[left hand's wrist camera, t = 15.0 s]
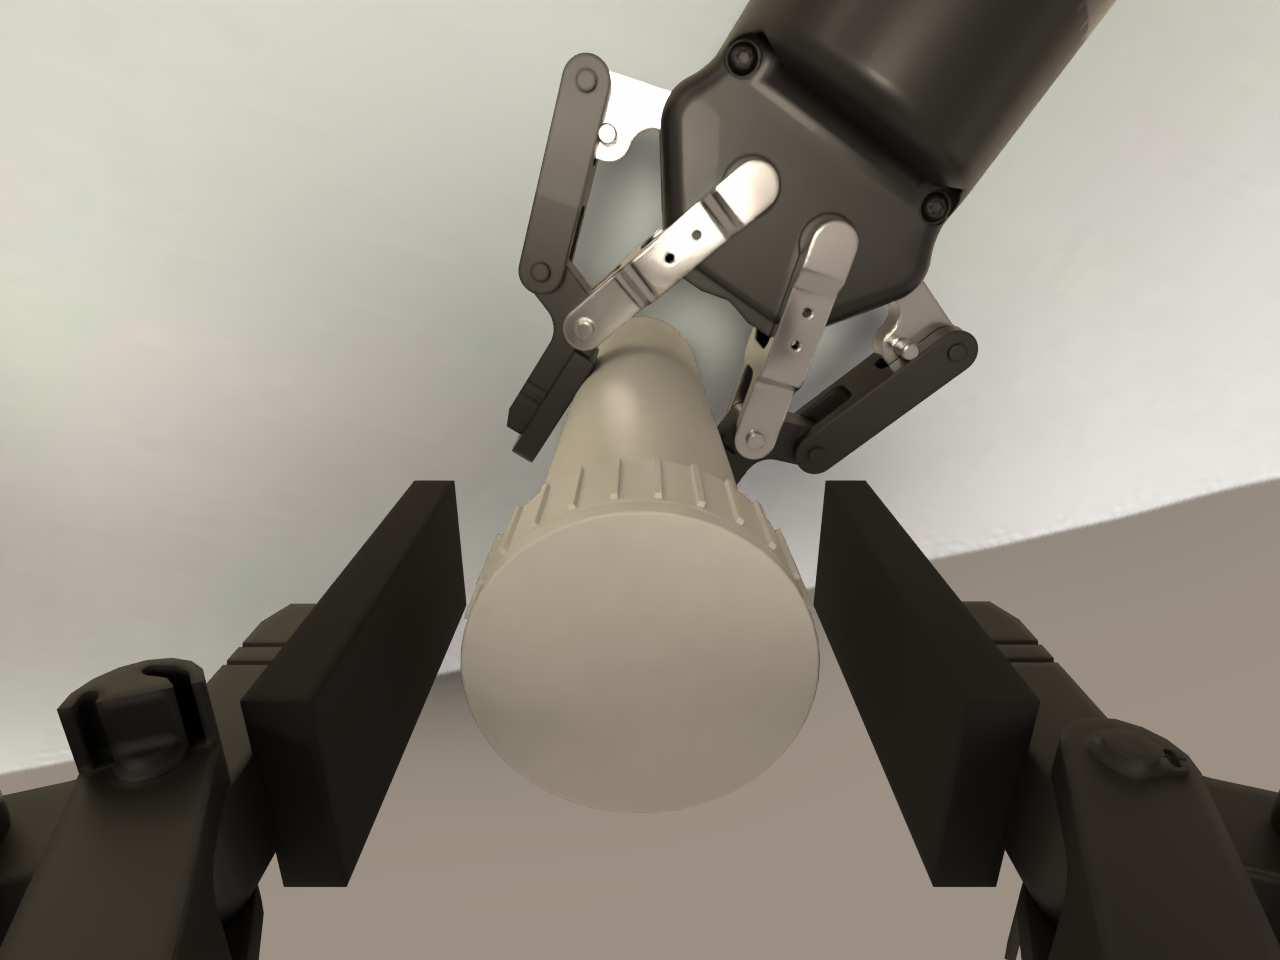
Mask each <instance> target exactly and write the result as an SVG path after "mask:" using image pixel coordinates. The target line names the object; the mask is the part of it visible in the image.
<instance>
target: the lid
mask: <svg viewBox="0 0 1280 960" xmlns="http://www.w3.org/2000/svg"><path fill="white" fill-rule="evenodd" d="M812 612H814V607H813V605H812V602H811V600H810V598H809V595H808V593H807V590H806V588H805V586H804V583H803V581H802V579H801V576H800V574H799V571H798V569H797V567H796V564H795V562H794V560H793V558H792V555H791V553H790V551H789V548H788V546H787V543H786V541H785V539H784V536H783V534H782V532H781V530H780V529H777V530H774V528H773V527H772V525H771V523H770V522H769V521H768V520H767V518H766V517H765V514H764V512H763V509H762V506H761V504H760V503H759V502H758V501H756V502H755V503H754V504H753V503H752V502H751V501H750V500H749V499H748V498H747V497H746V496H744V495H743V494H742V493H741V492H739V491H738V490H736V489H735V488H734V485H733V482H732V481H730V480H728V479H726V481H725V482H724V481H722V480H720V479H718V478H716V477H714V476H712V475H710V474H709V473H706V472H703V471H700V470H699V469H698V465H695V464H691V466H690V467H689V466H685V465H681V464H676V463H672V462H667V461H660V457H653V460H646V459H645V460H622V461H621V460H620V457H618V458H613V462H609V463H603V464H599V465H596V466H592V467H589V468H585V469H583V468H582V466H580V467H577V468H576V469H575V473H573V474H570V475H568V476H566V477H564V478H562V479H560V480H558V481H557V482H555V483H553V484H552V485H549V484H548V483H546V484H544V485H543V486H542V488H541V491H540V493H539V494H538V495H536V496H535V497H534V498H533V499H531V500H530V501H529V502H528V503H527V504H526V505H525V506H524V507H523V508H521V507H520V506H518V507H517V508H516V509H515V511H514V513H513V516H512V518H511V521H510V523H509V526H508V527H507V529H506V530H505V532H504V534H503V536H502V535H499V534H498V535H497V536H496V538H495V541H494V543H493V545H492V548H491V550H490V552H489V555H488V557H487V560H486V562H485V564H484V567H483V569H482V571H481V574H480V576H479V578H478V581H477V587H476V589H475V592H474V594H473V596H472V599H471V601H470V603H469V606H468V608H467V611H466V613H465V619H468V621H467V624H466V627H465V630H464V635H463V641H462V647H461V674H462V681H463V688H464V692H465V695H466V699H467V702H468V705H469V709H470V711H471V713H472V715H473V717H474V719H475V721H476V723H477V726H478V727H479V729H480V731H481V732H482V734H483V735H484V737H485V738H486V740H487V741H488V743H489V744H490V745H491V746H492V747H493V749H494V750H495V751H496V752H497V753H498V754H499V756H500V757H501V758H502V759H503V760H504V761H505V762H507V763H508V764H509V765H510V766H511V767H512V768H513V769H514V770H515V771H517V772H518V773H519V774H521V775H522V776H523V777H525V778H526V779H528V780H529V781H531V782H532V783H534V784H535V785H537V786H539V787H541V788H543V789H544V790H546V791H548V792H550V793H552V794H554V795H556V796H559V797H561V798H564V799H566V800H569V801H571V802H574V803H578V804H581V805H585V806H588V807H592V808H597V809H603V810H608V811H614V812H627V813H657V812H665V811H673V810H679V809H683V808H688V807H692V806H696V805H700V804H703V803H706V802H709V801H711V800H714V799H717V798H720V797H722V796H724V795H726V794H728V793H730V792H732V791H735V790H737V789H738V788H740V787H742V786H743V785H745V784H747V783H748V782H750V781H751V780H753V779H755V778H756V777H757V776H759V775H760V774H761V773H762V772H764V771H765V770H766V769H767V768H769V767H770V766H771V765H772V764H773V763H774V762H775V761H776V760H777V759H778V758H779V757H780V756H781V755H782V754H783V753H784V752H785V751H786V749H787V748H788V747H789V746H790V744H791V743H792V742H793V740H794V739H795V738H796V736H797V735H798V733H799V731H800V729H801V728H802V726H803V724H804V722H805V721H806V719H807V717H808V714H809V711H810V709H811V706H812V704H813V701H814V698H815V694H816V689H817V685H818V680H819V667H820V655H819V643H818V637H817V633H816V629H815V626H814V621H813V619H812V616H811V614H810V613H812Z"/></svg>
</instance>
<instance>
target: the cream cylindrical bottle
mask: <svg viewBox="0 0 1280 960" xmlns="http://www.w3.org/2000/svg"><path fill="white" fill-rule="evenodd" d="M598 349H599V352H598V356H597V360H596V364H595V366H594V367H593V369H592V370H591V372H590V373H589V375H588V377H587V378H586V380H585V381H584V383H583V384H582V385H581V387H580V388H579V390H578V391H577V393H576V395H575V397H574V398H573V400H572V403H571V406H570V409H569V412H568V415H567V418H566V421H565V424H564V427H563V430H562V433H561V436H560V439H559V442H558V445H557V448H556V451H555V454H554V457H553V460H552V463H551V466H550V469H549V472H548V475H547V478H546V481H545V484H546V483H548V484H549V485H552V484H553V483H555V482H557V481H558V480H560V479H562V478H564V477H566V476H568V475H570V474H573V473H575V469H576V468H577V467H580V466H582V468H583V469H585V468H589V467H592V466H596V465H599V464H603V463H609V462H613V458H618V457H620V460H621V461H622V460H645V459H646V460H653V457H660V461H667V462H672V463H676V464H681V465H685V466H689V467H690V466H691V464H695V465H698V469H699V470H700V471H703V472H706V473H709V474H710V475H712V476H714V477H716V478H718V479H720V480H722V481H724V482H725V481H726V479H728V480H730V481H732V482H733V485H734V488H735V489H736V490H738V488H737V485H736V482H735V479H734V476H733V473H732V470H731V467H730V464H729V461H728V458H727V455H726V452H725V449H724V446H723V443H722V440H721V437H720V434H719V431H718V428H717V425H716V422H715V419H714V416H713V413H712V410H711V407H710V404H709V401H708V398H707V395H706V392H705V389H704V386H703V383H702V380H701V377H700V374H699V371H698V368H697V365H696V362H695V359H694V356H693V353H692V351H691V349H690V346H689V345H688V343H687V341H686V340H685V339H684V337H683V336H682V335H681V334H680V333H679V332H678V331H677V330H676V329H675V328H673V327H672V326H670V325H669V324H667V323H665V322H663V321H660V320H657V319H654V318H649V317H632V318H631V319H630V320H629V321H627V322H626V323H625V324H624V325H623V326H622V327H620V328H619V329H618V330H617V331H616V332H614V333H613V334H612V335H611V336H610V337H609V338H607V339H606V340H605V341H604V342H603V343H601V344H600V345H599V346H598Z"/></svg>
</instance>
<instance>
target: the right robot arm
mask: <svg viewBox="0 0 1280 960" xmlns="http://www.w3.org/2000/svg"><path fill="white" fill-rule="evenodd" d="M1115 1H1116V0H750V1H749V3H748V4H747V6H746V8H745V9H744V11H743V13H742V14H741V16H740V18H739V19H738V21H737V22H736V24H735V26H734V27H733V29H732V31H731V32H730V34H729V36H728V37H727V39H726V40H725V42H724V44H723V45H722V47H721V49H720V50H719V52H718V53H717V55H716V56H715V57H714V59H713V60H712V61H711V62H710V63H709V64H707V65H706V66H705V67H704V68H703V69H701V70H700V71H698V72H697V73H695V74H693V75H692V76H690V77H688V78H686V79H685V80H683V81H682V82H680V83H679V84H678V85H677V86H676V87H675V88H674V89H673V90H672V92H670V91H667V90H664V89H661V88H658V87H655V86H652V85H649V84H646V83H643V82H640V81H637V80H634V79H631V78H628V77H625V76H622V75H619V74H616V73H613V72H611V71H609V69H608V67H607V65H606V64H605V62H604V61H603V60H602V59H601V58H599V57H598V56H596V55H594V54H591V53H581V54H578V55H575V56H574V57H572V58H571V59H570V60H569V61H568V63H567V64H566V66H565V68H564V71H563V74H562V79H561V83H560V88H559V92H558V96H557V101H556V105H555V110H554V114H553V118H552V123H551V127H550V132H549V136H548V140H547V145H546V149H545V154H544V158H543V162H542V167H541V171H540V176H539V180H538V184H537V189H536V193H535V198H534V202H533V206H532V211H531V215H530V220H529V224H528V228H527V233H526V237H525V242H524V246H523V251H522V255H521V259H520V264H519V277H520V280H521V282H522V284H523V285H524V286H525V288H526V289H528V290H529V291H531V292H532V293H534V294H535V295H536V296H537V298H538V299H539V300H540V302H541V303H542V304H543V305H544V307H545V308H546V309H547V311H548V312H549V314H550V316H551V318H552V321H553V325H554V333H553V337H552V340H551V342H550V344H549V345H548V347H547V349H546V350H545V352H544V354H543V355H542V357H541V358H540V360H539V362H538V363H537V365H536V367H535V368H534V370H533V371H532V373H531V375H530V376H529V378H528V380H527V381H526V383H525V384H524V386H523V388H522V389H521V391H520V393H519V394H518V396H517V397H516V399H515V401H514V402H513V404H512V406H511V407H510V409H509V415H508V422H507V427H509V428H511V429H512V430H514V431H516V432H517V433H519V434H520V435H519V437H518V439H517V441H516V443H515V445H514V447H513V449H512V451H513V452H514V453H516V454H518V455H519V456H521V457H523V458H524V459H526V460H528V461H529V462H532V461H533V460H534V459H535V457H536V456H537V454H538V453H539V451H540V450H541V448H542V446H543V445H544V443H545V442H546V440H547V439H548V437H549V436H550V434H551V432H552V431H553V429H554V428H555V426H556V425H557V423H558V422H559V420H560V418H561V417H562V415H563V414H564V412H565V411H566V409H567V408H568V406H569V405H570V403H571V401H572V400H573V398H574V397H575V395H576V393H577V391H578V390H579V388H580V387H581V385H582V384H583V383H584V381H585V380H586V378H587V377H588V375H589V373H590V372H591V370H592V369H593V367H594V366H595V364H596V360H597V356H598V352H599V349H598V346H599V345H600V344H601V343H603V342H604V341H605V340H606V339H607V338H609V337H610V336H611V335H612V334H613V333H614V332H616V331H617V330H618V329H619V328H620V327H622V326H623V325H624V324H625V323H626V322H627V321H629V320H630V319H631V318H632V317H633V316H635V315H636V314H637V313H638V312H639V311H640V310H642V309H643V308H644V307H646V306H647V305H649V304H651V303H652V302H654V301H655V300H657V299H658V298H659V297H660V296H661V295H663V294H664V293H665V292H666V291H667V290H669V289H670V288H671V287H672V286H673V285H674V284H676V283H677V282H678V281H679V280H680V279H682V278H684V279H685V280H687V281H688V282H690V283H691V284H692V285H694V286H695V287H697V288H698V289H700V290H701V291H703V292H706V293H709V294H712V295H715V296H718V297H721V298H724V299H727V300H729V301H730V302H731V303H732V304H733V306H734V307H735V308H736V309H737V310H738V312H739V313H740V314H741V315H742V316H743V317H744V319H745V320H746V321H747V322H748V323H749V324H751V325H752V326H753V329H752V332H751V334H750V337H749V340H748V343H747V346H746V350H745V355H744V363H743V367H742V370H741V372H740V375H739V378H738V381H737V384H736V387H735V390H734V392H733V395H732V398H731V401H730V404H729V407H728V410H727V413H726V416H725V417H724V419H723V420H722V421H721V423H720V424H719V426H718V427H717V428H718V431H719V434H720V437H721V440H722V443H723V446H724V449H725V452H726V455H727V458H728V461H729V464H730V467H731V470H732V473H733V476H734V479H735V482H736V485H737V484H738V482H739V481H740V480H741V478H742V477H743V476H744V474H745V473H746V472H747V470H748V469H749V468H750V467H751V466H752V465H754V464H755V463H757V462H759V461H762V460H767V459H774V460H779V461H784V462H788V463H792V464H797V465H798V466H799V467H800V468H801V469H802V470H803V471H805V472H807V473H810V474H819V473H822V472H825V471H826V470H828V469H829V468H831V467H832V466H833V465H835V464H836V463H838V462H839V461H840V460H842V459H843V458H844V457H846V456H847V455H849V454H850V453H851V452H853V451H854V450H855V449H857V448H858V447H860V446H861V445H862V444H864V443H865V442H867V441H868V440H869V439H871V438H872V437H873V436H875V435H876V434H878V433H879V432H880V431H882V430H883V429H884V428H886V427H887V426H889V425H890V424H891V423H893V422H894V421H896V420H897V419H898V418H900V417H901V416H902V415H904V414H905V413H907V412H908V411H909V410H911V409H912V408H913V407H915V406H916V405H918V404H919V403H920V402H922V401H923V400H925V399H926V398H927V397H929V396H930V395H931V394H933V393H934V392H936V391H937V390H938V389H940V388H941V387H942V386H944V385H945V384H947V383H948V382H949V381H951V380H952V379H953V378H955V377H956V376H958V375H959V374H960V373H962V372H963V371H965V370H966V369H967V368H968V367H970V366H971V365H972V364H973V362H974V361H975V359H976V357H977V353H978V345H977V341H976V339H975V338H974V337H973V336H972V335H971V334H970V333H968V332H966V331H963V330H962V329H960V328H959V327H956V326H954V325H953V324H952V323H951V322H950V320H949V319H948V317H947V316H946V314H945V313H944V311H943V310H942V308H941V307H940V305H939V304H938V302H937V301H936V299H935V298H934V296H933V295H932V293H931V292H930V290H929V289H928V287H927V286H926V284H925V283H924V281H923V279H924V278H925V276H926V274H927V272H928V269H929V266H930V261H931V256H932V251H933V247H934V244H935V241H936V238H937V236H938V234H939V232H940V230H941V228H942V226H943V225H944V223H945V222H946V220H947V219H948V218H949V217H950V216H951V214H952V213H953V212H954V211H955V210H956V209H957V207H958V206H959V205H960V204H961V203H962V201H963V200H964V199H965V198H966V197H967V195H968V194H969V193H970V191H971V190H972V189H973V187H974V186H975V185H976V183H977V182H978V181H979V179H980V178H981V177H982V176H983V174H984V173H985V172H986V170H987V169H988V168H989V166H990V165H991V164H992V162H993V161H994V160H995V158H996V157H997V156H998V155H999V153H1000V152H1001V151H1002V149H1003V148H1004V147H1005V145H1006V144H1007V143H1008V141H1009V140H1010V139H1011V138H1012V136H1013V135H1014V134H1015V132H1016V131H1017V130H1018V128H1019V127H1020V126H1021V124H1022V123H1023V122H1024V121H1025V119H1026V118H1027V117H1028V115H1029V114H1030V113H1031V111H1032V110H1033V109H1034V107H1035V106H1036V105H1037V103H1038V102H1039V101H1040V100H1041V98H1042V97H1043V96H1044V94H1045V93H1046V92H1047V90H1048V89H1049V88H1050V86H1051V85H1052V84H1053V83H1054V81H1055V80H1056V79H1057V77H1058V76H1059V75H1060V73H1061V72H1062V71H1063V69H1064V68H1065V67H1066V65H1067V64H1068V63H1069V62H1070V60H1071V59H1072V58H1073V56H1074V55H1075V54H1076V52H1077V51H1078V50H1079V49H1080V47H1081V46H1082V45H1083V43H1084V42H1085V41H1086V39H1087V38H1088V37H1089V35H1090V34H1091V33H1092V31H1093V30H1094V29H1095V28H1096V26H1097V25H1098V24H1099V22H1100V21H1101V20H1102V18H1103V17H1104V16H1105V14H1106V13H1107V12H1108V10H1109V9H1110V8H1111V7H1112V5H1113V4H1114V3H1115ZM649 130H655V131H659V135H660V166H661V197H662V226H661V227H660V228H659V229H657V230H656V231H655V232H654V233H653V234H652V235H651V236H649V237H648V238H647V239H646V240H645V241H644V242H643V243H641V244H640V245H639V246H638V247H637V248H636V249H635V250H633V251H632V252H631V253H630V254H629V255H628V256H627V257H626V258H625V259H624V260H622V262H620V263H619V264H618V265H617V266H616V267H615V268H614V269H613V270H612V271H610V272H609V273H608V274H607V275H606V276H605V277H604V278H602V279H601V280H600V281H599V282H598V283H597V284H596V285H594V286H593V287H592V288H591V287H590V286H589V284H588V283H587V282H586V280H585V279H584V278H583V276H582V275H581V274H580V272H579V271H578V270H577V268H576V267H575V266H574V264H573V263H572V262H573V258H574V254H575V250H576V246H577V242H578V238H579V234H580V230H581V226H582V222H583V218H584V214H585V210H586V206H587V202H588V198H589V194H590V190H591V186H592V182H593V178H594V175H595V171H596V167H597V163H598V160H601V161H604V162H615V161H618V160H620V159H622V158H623V157H624V156H625V155H626V154H627V152H628V150H629V148H630V146H631V143H632V142H633V140H634V139H635V138H636V137H637V136H638V135H639V134H641V133H642V132H645V131H649ZM886 304H888V305H889V313H888V316H887V319H886V321H885V322H884V324H883V325H882V326H881V327H880V328H879V329H878V330H877V331H876V333H875V335H874V337H873V341H872V346H873V350H874V353H873V354H872V355H870V356H869V357H868V358H866V359H865V360H864V361H862V362H861V363H860V364H858V365H857V366H856V367H854V368H853V369H852V370H850V371H849V372H848V373H846V374H845V375H844V376H842V377H841V378H840V379H838V380H837V381H836V382H834V383H833V384H832V385H831V386H829V387H828V388H827V389H825V390H824V391H823V392H821V393H820V394H819V395H817V396H816V397H815V398H813V399H812V400H811V401H809V402H808V403H807V404H805V405H804V406H803V407H801V408H800V409H799V410H797V411H796V412H795V413H791V412H787V411H788V409H789V406H790V403H791V401H792V398H793V396H794V394H795V392H796V391H797V390H799V389H800V388H801V386H802V384H803V382H804V380H805V378H806V375H807V373H808V370H809V367H810V365H811V362H812V360H813V357H814V354H815V352H816V349H817V347H818V344H819V341H820V339H821V336H822V333H823V331H824V328H825V327H827V326H829V325H832V324H835V323H837V322H840V321H843V320H846V319H848V318H851V317H854V316H856V315H859V314H862V313H865V312H867V311H870V310H873V309H875V308H878V307H881V306H883V305H886ZM794 340H796V343H795V345H793V346H792V341H794Z"/></svg>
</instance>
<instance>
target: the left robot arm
mask: <svg viewBox="0 0 1280 960" xmlns="http://www.w3.org/2000/svg"><path fill="white" fill-rule="evenodd" d="M465 607H466V595H465V585H464V575H463V565H462V554H461V544H460V534H459V524H458V513H457V503H456V493H455V483H454V481H414V482H413V483H412V485H411V486H410V487H409V488H408V490H407V491H406V492H405V493H404V495H403V496H402V497H401V498H400V500H399V501H398V502H397V503H396V505H395V506H394V507H393V508H392V510H391V511H390V512H389V514H388V515H387V516H386V517H385V519H384V520H383V521H382V522H381V524H380V525H379V526H378V527H377V529H376V530H375V531H374V532H373V534H372V535H371V536H370V537H369V539H368V540H367V541H366V543H365V544H364V545H363V546H362V548H361V549H360V550H359V551H358V553H357V554H356V555H355V556H354V558H353V559H352V560H351V561H350V563H349V564H348V565H347V566H346V568H345V569H344V570H343V571H342V573H341V574H340V575H339V577H338V578H337V579H336V580H335V582H334V583H333V584H332V585H331V587H330V588H329V589H328V590H327V592H326V593H325V594H324V595H323V597H322V598H321V599H320V600H319V602H318V603H317V604H290V605H288V606H287V607H285V608H283V609H282V610H280V611H278V612H277V613H275V614H274V615H272V616H270V617H269V618H267V619H265V620H264V621H262V622H261V623H260V624H259V625H258V626H257V628H256V629H255V630H254V631H253V632H252V633H251V634H250V635H249V637H248V638H247V639H246V640H245V641H244V642H243V646H242V647H239V648H238V649H237V650H236V651H235V652H234V653H233V654H232V656H231V657H230V658H229V659H228V660H227V665H223V666H222V667H221V668H220V669H219V670H218V671H217V672H216V674H215V675H214V676H213V677H212V678H211V679H210V680H209V681H208V683H207V684H206V680H205V676H204V672H203V669H202V668H201V667H199V666H198V665H196V664H195V663H194V662H192V661H189V660H182V659H176V658H166V659H154V660H146V661H142V662H138V663H135V664H131V665H127V666H123V667H120V668H117V669H115V670H113V671H110V672H108V673H106V674H103V675H101V676H99V677H97V678H94V679H92V680H91V681H89V682H88V683H86V684H85V685H83V686H82V687H80V688H79V689H77V690H76V691H74V692H73V693H71V694H70V695H69V696H68V697H67V699H66V700H65V701H64V702H63V703H62V704H61V705H60V707H59V708H58V709H57V711H58V714H59V717H60V720H61V723H62V726H63V729H64V731H65V734H66V737H67V740H68V743H69V746H70V749H71V751H72V754H73V757H74V760H75V763H76V766H77V769H78V772H79V775H78V778H77V779H76V780H73V781H69V782H65V783H60V784H55V785H50V786H46V787H41V788H36V789H32V790H27V791H23V792H18V793H13V794H8V795H4V796H2V793H1V791H0V960H259V952H260V942H261V933H262V924H263V915H264V912H263V906H262V900H261V895H260V891H259V887H258V883H259V881H260V879H261V877H262V875H263V874H264V872H265V870H266V868H267V867H268V865H269V863H270V861H271V859H272V858H273V856H274V854H275V852H276V855H277V860H278V864H279V868H280V872H281V876H282V880H283V885H284V887H347V885H348V882H349V880H350V878H351V875H352V873H353V871H354V868H355V866H356V864H357V861H358V859H359V857H360V854H361V852H362V849H363V847H364V845H365V842H366V840H367V838H368V835H369V833H370V831H371V828H372V826H373V824H374V821H375V819H376V816H377V814H378V812H379V809H380V807H381V805H382V802H383V800H384V798H385V795H386V793H387V791H388V788H389V786H390V784H391V781H392V779H393V777H394V774H395V772H396V769H397V767H398V765H399V762H400V760H401V758H402V755H403V753H404V751H405V748H406V746H407V744H408V741H409V739H410V737H411V734H412V732H413V729H414V727H415V725H416V722H417V720H418V718H419V715H420V713H421V710H422V708H423V706H424V704H425V701H426V699H427V697H428V694H429V692H430V690H431V687H432V685H433V682H434V680H435V678H436V675H437V673H438V671H439V668H440V666H441V664H442V661H443V659H444V657H445V654H446V652H447V650H448V647H449V645H450V642H451V640H452V638H453V635H454V633H455V631H456V628H457V626H458V624H459V621H460V619H461V617H462V614H463V612H464V610H465ZM814 607H815V609H816V612H817V614H818V617H819V619H820V621H821V624H822V626H823V628H824V631H825V633H826V635H827V638H828V640H829V642H830V645H831V647H832V650H833V652H834V654H835V657H836V659H837V661H838V664H839V666H840V668H841V671H842V673H843V675H844V678H845V680H846V682H847V685H848V687H849V690H850V692H851V694H852V697H853V699H854V701H855V704H856V706H857V708H858V711H859V713H860V715H861V718H862V720H863V722H864V725H865V727H866V729H867V732H868V734H869V736H870V739H871V741H872V744H873V746H874V748H875V751H876V753H877V755H878V758H879V760H880V762H881V765H882V767H883V770H884V772H885V774H886V777H887V779H888V781H889V784H890V786H891V788H892V790H893V793H894V795H895V798H896V800H897V802H898V805H899V807H900V809H901V812H902V814H903V817H904V819H905V821H906V824H907V826H908V828H909V831H910V833H911V835H912V838H913V840H914V842H915V845H916V847H917V849H918V852H919V854H920V857H921V859H922V861H923V864H924V866H925V868H926V871H927V873H928V875H929V878H930V880H931V882H932V885H933V887H996V884H997V881H998V876H999V872H1000V868H1001V864H1002V860H1003V855H1004V851H1005V850H1006V852H1007V854H1008V856H1009V857H1010V859H1011V861H1012V863H1013V864H1014V866H1015V868H1016V870H1017V872H1018V874H1019V875H1020V877H1021V879H1022V881H1023V883H1022V887H1021V891H1020V895H1019V899H1018V903H1017V907H1016V911H1015V915H1014V919H1013V923H1012V926H1011V930H1010V934H1009V938H1008V942H1007V948H1006V954H1005V959H1007V960H1016V956H1017V953H1018V949H1019V946H1020V949H1021V958H1022V960H1280V791H1279V793H1278V792H1273V791H1269V790H1264V789H1259V788H1254V787H1250V786H1245V785H1240V784H1236V783H1231V782H1226V781H1222V780H1217V779H1212V778H1208V777H1205V776H1202V774H1201V772H1200V771H1199V769H1198V768H1197V767H1196V765H1195V764H1194V763H1193V761H1192V760H1191V759H1190V757H1189V756H1188V755H1187V754H1185V753H1184V752H1183V751H1181V750H1180V749H1179V748H1178V747H1176V746H1175V745H1174V744H1172V743H1171V742H1170V741H1168V740H1167V739H1165V738H1163V737H1161V736H1159V735H1157V734H1155V733H1153V732H1151V731H1149V730H1147V729H1145V728H1143V727H1140V726H1137V725H1133V724H1130V723H1127V722H1123V721H1120V720H1117V719H1109V718H1107V717H1106V716H1105V715H1104V714H1103V713H1102V712H1101V710H1100V709H1099V708H1098V707H1097V706H1096V705H1095V704H1094V703H1093V701H1092V700H1091V699H1090V698H1089V697H1088V696H1087V695H1086V694H1085V693H1084V691H1083V690H1082V689H1081V688H1080V687H1079V686H1078V685H1077V684H1076V683H1075V681H1074V680H1073V679H1072V678H1071V677H1070V676H1069V675H1068V674H1067V672H1066V671H1065V670H1064V669H1063V668H1062V667H1061V666H1060V665H1059V664H1058V663H1054V658H1053V657H1052V656H1051V655H1050V653H1049V652H1048V651H1047V650H1046V649H1045V648H1044V647H1043V646H1042V645H1038V640H1037V639H1036V638H1035V637H1034V636H1033V635H1032V633H1031V632H1030V631H1029V630H1028V629H1027V628H1026V627H1025V626H1024V624H1023V623H1022V622H1021V621H1020V620H1019V619H1017V618H1016V617H1014V616H1012V615H1011V614H1009V613H1008V612H1006V611H1004V610H1003V609H1001V608H999V607H998V606H996V605H994V604H993V603H991V602H961V600H960V599H959V598H958V597H957V595H956V594H955V593H954V592H953V590H952V589H951V588H950V587H949V585H948V584H947V583H946V582H945V580H944V579H943V578H942V577H941V575H940V574H939V573H938V571H937V570H936V569H935V568H934V566H933V565H932V564H931V563H930V561H929V560H928V559H927V558H926V556H925V555H924V554H923V553H922V551H921V550H920V549H919V548H918V546H917V545H916V544H915V543H914V541H913V540H912V539H911V537H910V536H909V535H908V534H907V532H906V531H905V530H904V529H903V527H902V526H901V525H900V524H899V522H898V521H897V520H896V519H895V517H894V516H893V515H892V514H891V512H890V511H889V510H888V508H887V507H886V506H885V505H884V503H883V502H882V501H881V500H880V498H879V497H878V496H877V495H876V493H875V492H874V491H873V490H872V488H871V487H870V486H869V485H868V483H867V482H866V481H826V483H825V493H824V503H823V513H822V524H821V534H820V544H819V554H818V565H817V575H816V585H815V595H814Z"/></svg>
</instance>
